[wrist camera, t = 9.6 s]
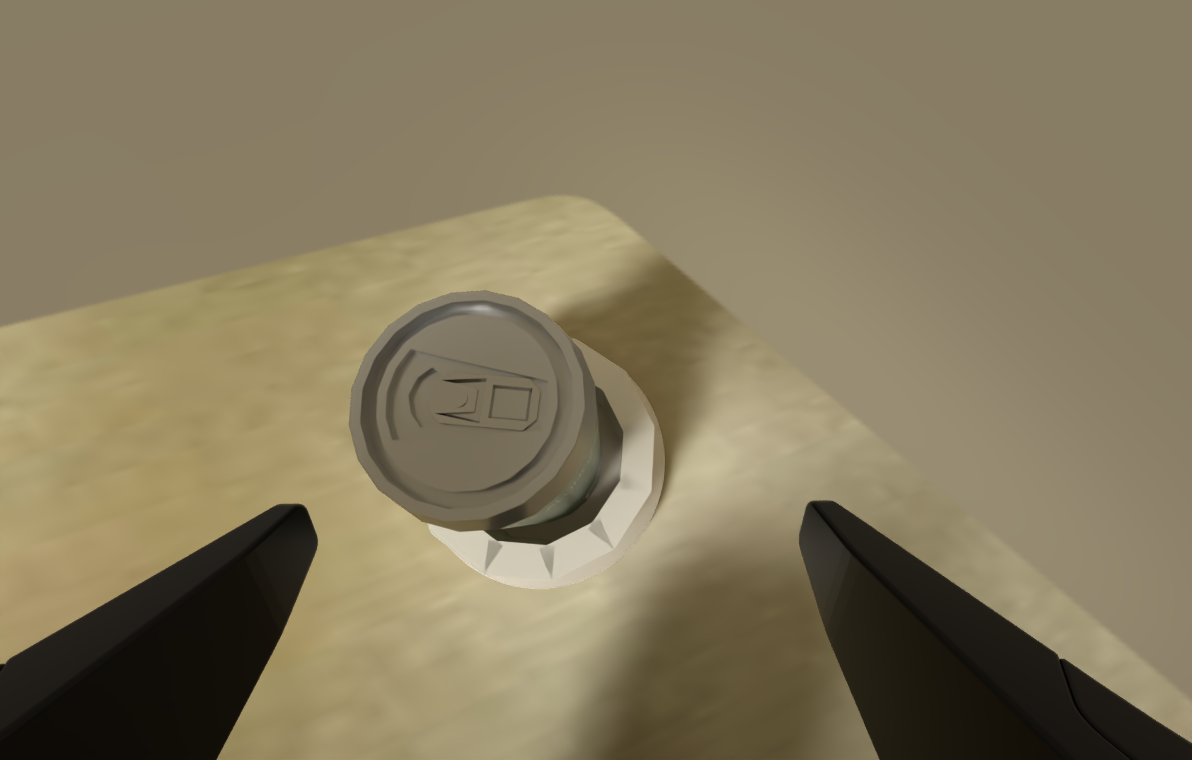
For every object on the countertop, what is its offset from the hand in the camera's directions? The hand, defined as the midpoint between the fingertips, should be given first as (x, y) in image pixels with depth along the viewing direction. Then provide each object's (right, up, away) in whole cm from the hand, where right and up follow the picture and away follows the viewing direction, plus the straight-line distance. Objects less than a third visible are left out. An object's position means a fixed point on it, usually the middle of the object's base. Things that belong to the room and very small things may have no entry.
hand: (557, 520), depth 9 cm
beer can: (-2, -1, +13) cm, 13 cm away
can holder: (-2, -1, +14) cm, 14 cm away
